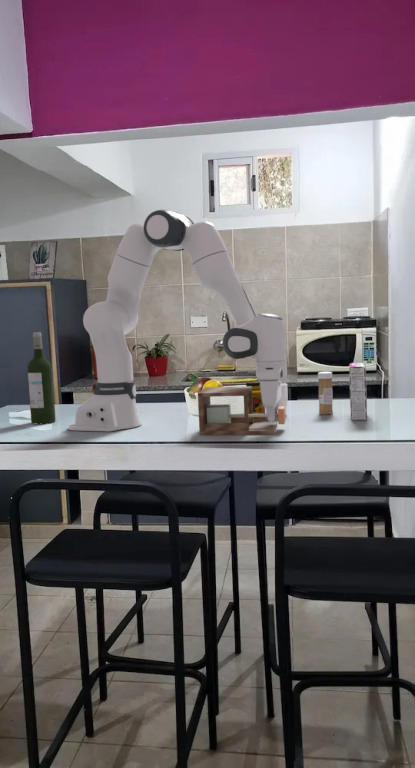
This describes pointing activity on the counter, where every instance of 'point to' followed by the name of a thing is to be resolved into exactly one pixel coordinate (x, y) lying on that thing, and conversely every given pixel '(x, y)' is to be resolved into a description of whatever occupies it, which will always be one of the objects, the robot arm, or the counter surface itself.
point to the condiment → (256, 400)
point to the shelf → (237, 424)
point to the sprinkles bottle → (325, 392)
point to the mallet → (223, 414)
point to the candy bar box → (358, 391)
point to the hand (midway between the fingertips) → (273, 418)
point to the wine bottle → (40, 385)
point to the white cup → (282, 397)
